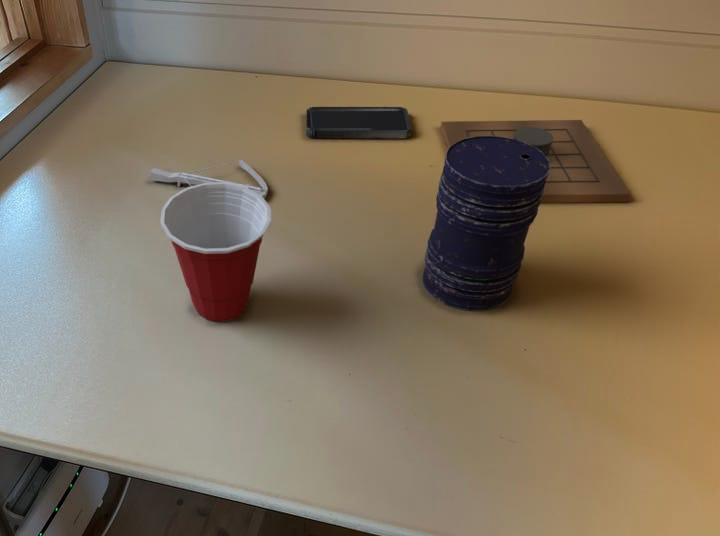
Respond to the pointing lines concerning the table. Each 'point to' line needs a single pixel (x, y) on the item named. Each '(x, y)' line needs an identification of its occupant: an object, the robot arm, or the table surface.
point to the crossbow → (206, 178)
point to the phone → (357, 122)
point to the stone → (535, 138)
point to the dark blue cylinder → (483, 220)
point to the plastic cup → (217, 244)
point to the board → (557, 158)
